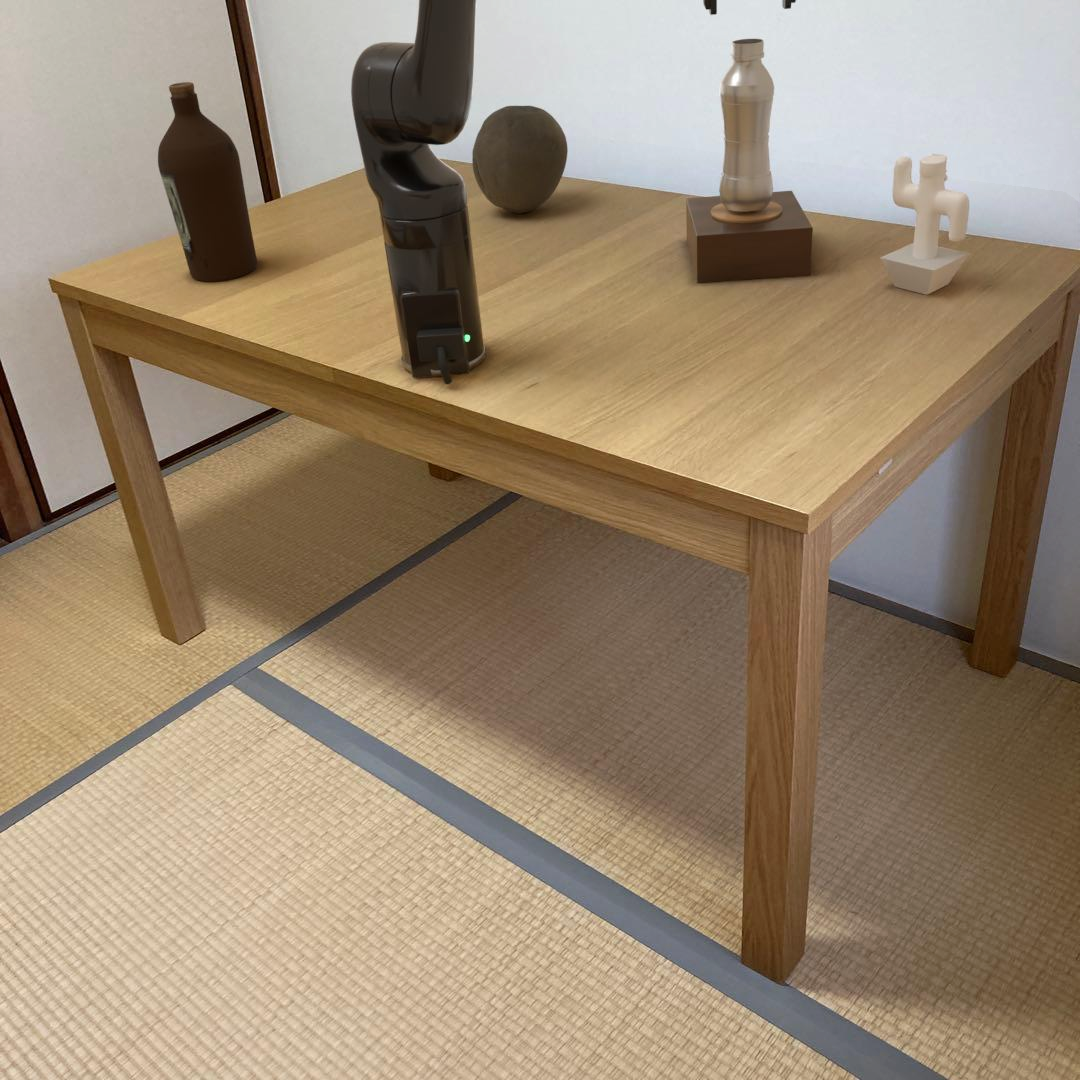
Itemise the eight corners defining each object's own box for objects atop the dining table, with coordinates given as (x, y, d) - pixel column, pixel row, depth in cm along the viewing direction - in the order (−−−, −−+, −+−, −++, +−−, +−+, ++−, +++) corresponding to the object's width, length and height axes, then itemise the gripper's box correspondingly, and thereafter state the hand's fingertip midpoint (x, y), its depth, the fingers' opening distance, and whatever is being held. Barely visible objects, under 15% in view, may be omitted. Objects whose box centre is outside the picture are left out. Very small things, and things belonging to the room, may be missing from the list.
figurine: (938, 303, 132) (953, 170, 124) (869, 285, 139) (879, 158, 131) (974, 285, 136) (990, 155, 128) (905, 268, 142) (916, 144, 134)
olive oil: (257, 253, 169) (217, 72, 156) (267, 274, 160) (226, 85, 147) (183, 266, 166) (136, 84, 153) (189, 289, 158) (141, 97, 145)
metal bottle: (771, 217, 144) (776, 45, 133) (716, 218, 145) (717, 47, 134) (773, 201, 149) (778, 35, 138) (720, 202, 150) (720, 37, 140)
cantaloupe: (556, 223, 169) (548, 117, 161) (465, 223, 173) (453, 119, 165) (580, 195, 181) (574, 95, 173) (495, 195, 184) (485, 97, 176)
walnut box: (810, 275, 143) (813, 225, 140) (697, 283, 144) (696, 233, 141) (790, 234, 157) (792, 188, 153) (686, 242, 158) (686, 195, 154)
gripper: (689, -144, 123) (691, 21, 132) (824, -156, 122) (817, 10, 131) (683, -146, 130) (685, 11, 138) (812, -158, 129) (806, 1, 137)
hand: (749, 10), depth 135 cm, fingers open, 8 cm apart
